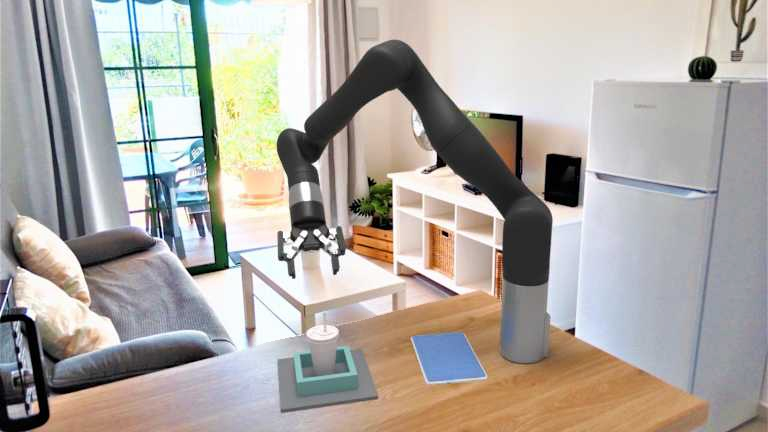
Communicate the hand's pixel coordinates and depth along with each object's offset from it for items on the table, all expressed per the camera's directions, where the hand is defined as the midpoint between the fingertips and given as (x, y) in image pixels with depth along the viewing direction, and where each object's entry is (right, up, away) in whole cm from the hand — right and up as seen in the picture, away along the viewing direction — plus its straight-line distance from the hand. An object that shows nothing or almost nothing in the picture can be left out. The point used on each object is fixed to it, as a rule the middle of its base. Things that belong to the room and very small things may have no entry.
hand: (314, 275), depth 119 cm
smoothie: (+2, -20, -4) cm, 20 cm away
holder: (+3, -20, -4) cm, 21 cm away
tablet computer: (+28, -18, +3) cm, 33 cm away
